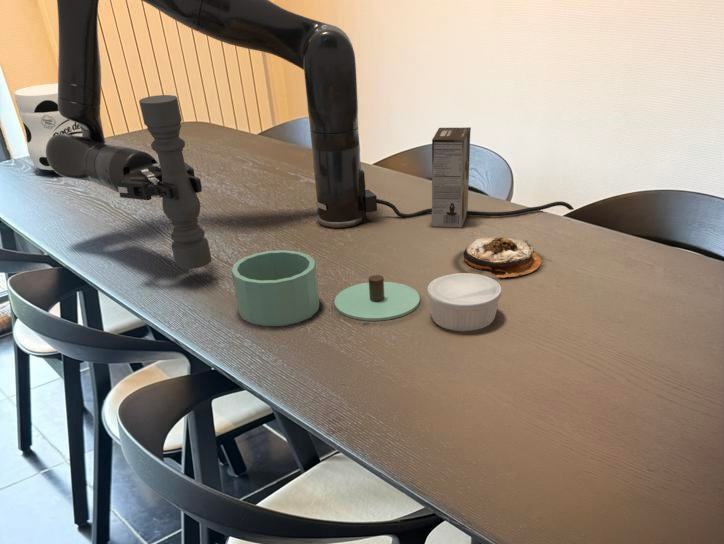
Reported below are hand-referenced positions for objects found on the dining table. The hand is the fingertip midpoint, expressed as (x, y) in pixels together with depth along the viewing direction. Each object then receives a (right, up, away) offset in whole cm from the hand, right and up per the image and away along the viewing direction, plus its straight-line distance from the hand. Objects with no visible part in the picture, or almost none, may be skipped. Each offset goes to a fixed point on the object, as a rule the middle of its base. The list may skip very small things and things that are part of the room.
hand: (187, 189), depth 114 cm
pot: (+15, -19, +1) cm, 24 cm away
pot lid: (+31, -18, +1) cm, 35 cm away
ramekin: (+44, -22, -4) cm, 49 cm away
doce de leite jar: (-50, +38, +71) cm, 95 cm away
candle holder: (-2, -8, +10) cm, 13 cm away
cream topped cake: (+52, -7, +13) cm, 54 cm away
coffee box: (+45, +7, +30) cm, 55 cm away
